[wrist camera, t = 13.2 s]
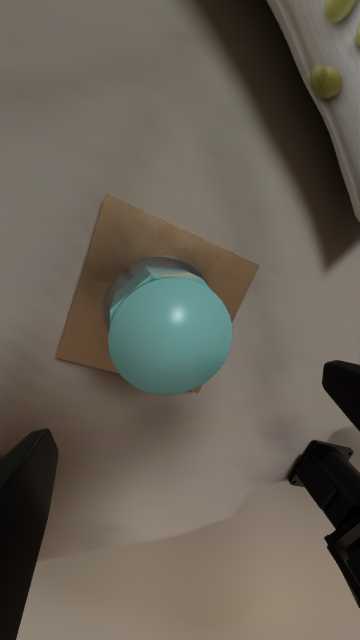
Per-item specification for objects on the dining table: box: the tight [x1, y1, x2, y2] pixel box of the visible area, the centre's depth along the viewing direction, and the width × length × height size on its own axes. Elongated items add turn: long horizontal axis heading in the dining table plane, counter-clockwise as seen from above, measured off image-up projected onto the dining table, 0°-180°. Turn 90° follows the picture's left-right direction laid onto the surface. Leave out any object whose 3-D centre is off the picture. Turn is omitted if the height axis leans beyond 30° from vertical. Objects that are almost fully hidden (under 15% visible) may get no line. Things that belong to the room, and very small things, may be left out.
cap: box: [108, 266, 232, 395], centre depth 14 cm, size 6×6×5 cm
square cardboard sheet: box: [56, 193, 259, 393], centre depth 16 cm, size 12×12×5 cm
